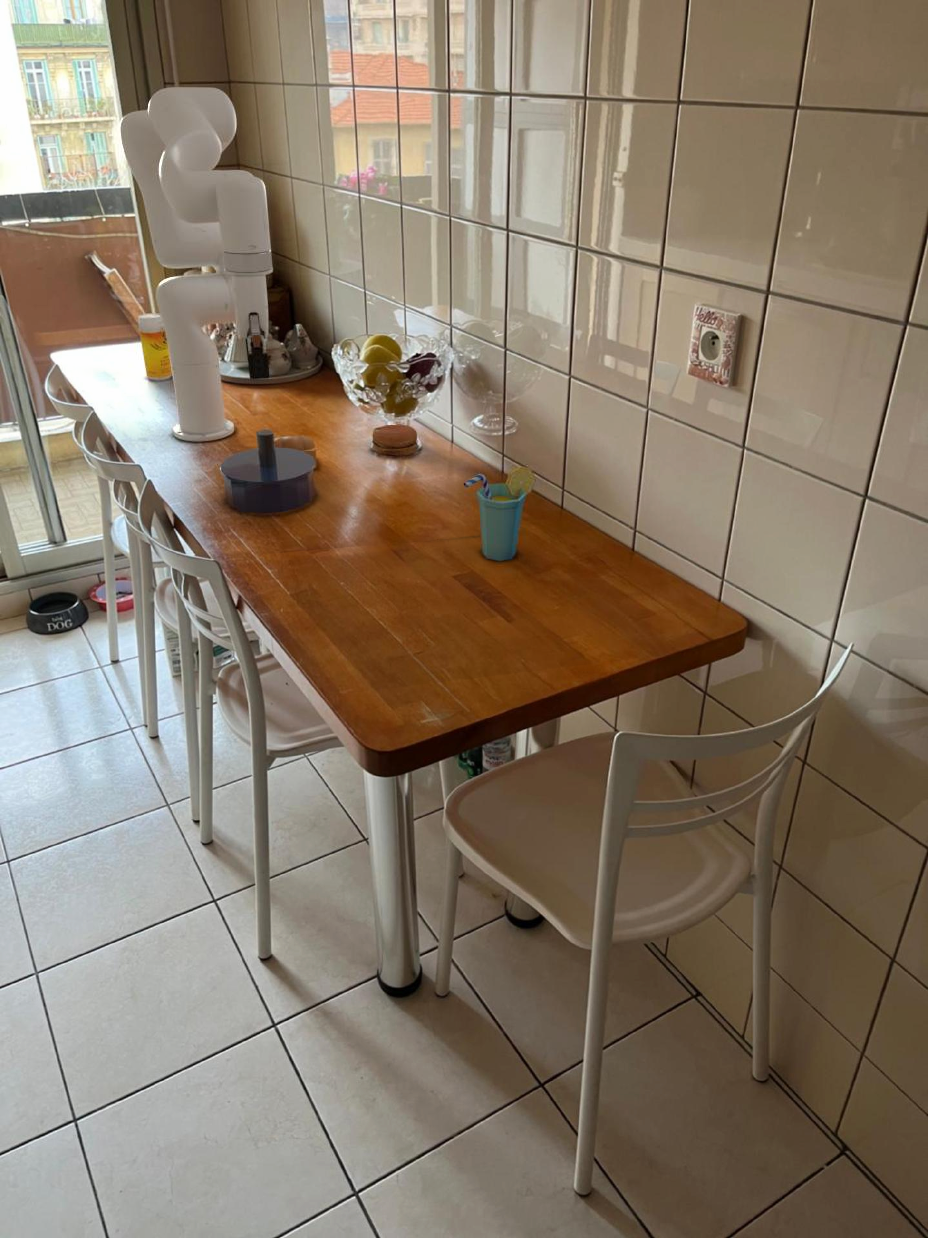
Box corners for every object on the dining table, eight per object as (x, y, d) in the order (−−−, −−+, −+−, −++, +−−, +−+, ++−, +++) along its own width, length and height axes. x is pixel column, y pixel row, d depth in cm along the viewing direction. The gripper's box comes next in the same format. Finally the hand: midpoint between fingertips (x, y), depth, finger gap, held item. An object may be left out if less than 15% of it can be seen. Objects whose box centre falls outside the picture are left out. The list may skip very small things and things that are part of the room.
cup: (480, 577, 142) (483, 486, 134) (446, 559, 147) (447, 471, 139) (542, 550, 150) (547, 463, 142) (508, 534, 155) (512, 450, 147)
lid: (220, 456, 169) (215, 419, 165) (311, 450, 172) (308, 414, 169) (221, 491, 155) (216, 452, 151) (319, 484, 158) (317, 445, 155)
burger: (423, 455, 186) (423, 433, 184) (379, 460, 183) (378, 438, 181) (410, 439, 194) (409, 418, 192) (367, 444, 191) (366, 422, 189)
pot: (226, 484, 171) (222, 454, 168) (310, 478, 175) (308, 448, 171) (227, 519, 158) (223, 486, 155) (318, 512, 162) (316, 480, 158)
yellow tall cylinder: (168, 381, 227) (159, 318, 219) (143, 380, 227) (133, 318, 219) (175, 374, 232) (166, 312, 224) (151, 373, 232) (141, 312, 224)
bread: (271, 473, 177) (268, 443, 174) (270, 462, 181) (267, 433, 178) (317, 469, 178) (315, 440, 175) (315, 459, 183) (313, 430, 180)
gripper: (223, 253, 152) (234, 357, 161) (224, 273, 138) (236, 386, 147) (269, 252, 154) (278, 355, 162) (275, 271, 139) (284, 383, 148)
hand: (258, 369), depth 154 cm, fingers open, 9 cm apart
